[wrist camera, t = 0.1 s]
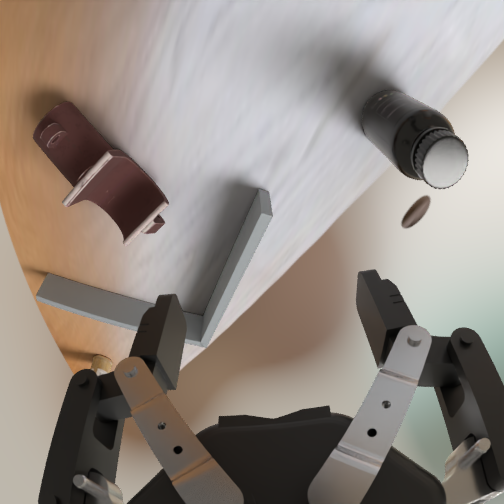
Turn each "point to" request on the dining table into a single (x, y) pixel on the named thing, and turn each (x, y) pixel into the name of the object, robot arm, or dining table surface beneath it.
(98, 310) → the angled bar
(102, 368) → the sprinkles bottle
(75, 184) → the bracket
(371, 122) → the supplement bottle
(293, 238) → the dining table surface
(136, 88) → the dining table surface
